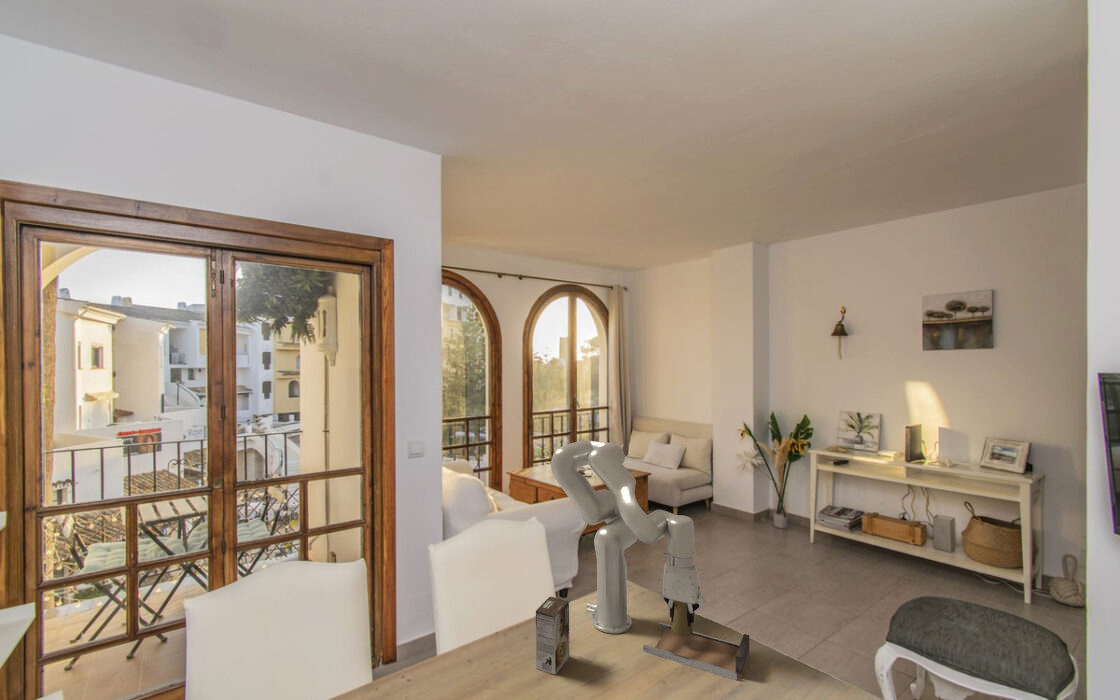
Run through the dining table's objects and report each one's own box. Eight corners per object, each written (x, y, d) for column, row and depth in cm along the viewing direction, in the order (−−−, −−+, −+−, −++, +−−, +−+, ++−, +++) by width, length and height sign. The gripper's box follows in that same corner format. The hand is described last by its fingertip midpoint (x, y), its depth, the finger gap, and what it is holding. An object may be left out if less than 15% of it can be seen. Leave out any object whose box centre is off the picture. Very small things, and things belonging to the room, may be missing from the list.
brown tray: (654, 651, 146) (654, 632, 146) (667, 631, 156) (667, 613, 156) (741, 678, 134) (741, 657, 134) (749, 654, 144) (749, 635, 144)
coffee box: (550, 651, 146) (549, 595, 146) (570, 657, 143) (570, 600, 143) (534, 669, 138) (534, 610, 138) (555, 675, 135) (555, 615, 135)
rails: (643, 651, 146) (643, 645, 146) (659, 627, 159) (659, 622, 159) (736, 680, 133) (736, 674, 133) (746, 651, 146) (746, 646, 146)
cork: (693, 636, 144) (692, 597, 144) (671, 634, 145) (671, 595, 145) (692, 625, 150) (691, 588, 150) (671, 623, 151) (670, 586, 151)
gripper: (649, 558, 149) (650, 621, 149) (706, 570, 141) (707, 636, 140) (657, 550, 155) (658, 609, 155) (713, 560, 147) (714, 623, 147)
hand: (682, 621), depth 148 cm, fingers closed on cork, 4 cm apart
